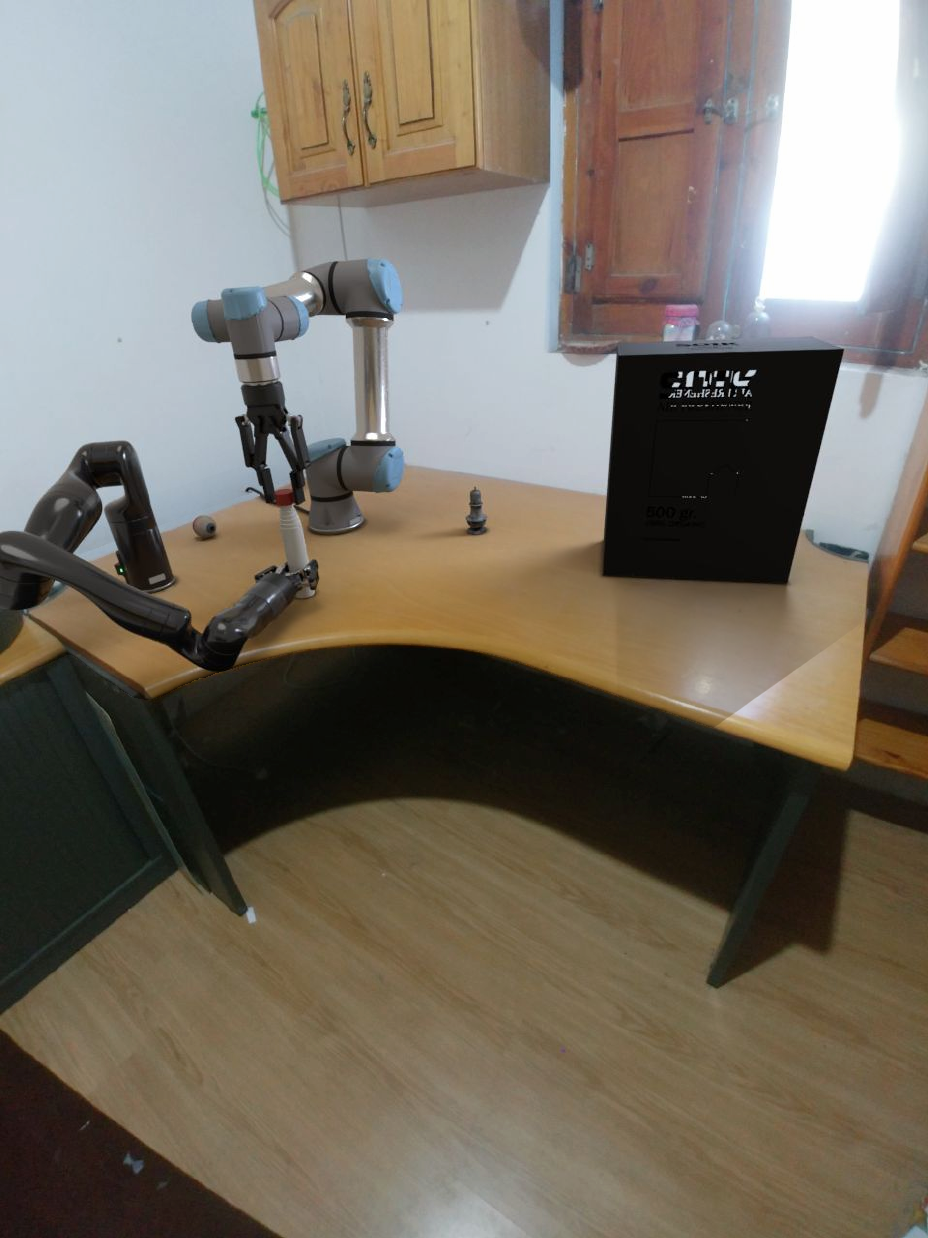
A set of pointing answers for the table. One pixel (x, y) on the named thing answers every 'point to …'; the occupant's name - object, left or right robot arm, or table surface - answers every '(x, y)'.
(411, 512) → the table surface
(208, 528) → the eyeball
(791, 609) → the table surface
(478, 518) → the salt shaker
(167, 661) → the table surface
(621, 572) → the cardboard box
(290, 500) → the cap
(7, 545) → the left robot arm
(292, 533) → the bottle
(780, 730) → the table surface
